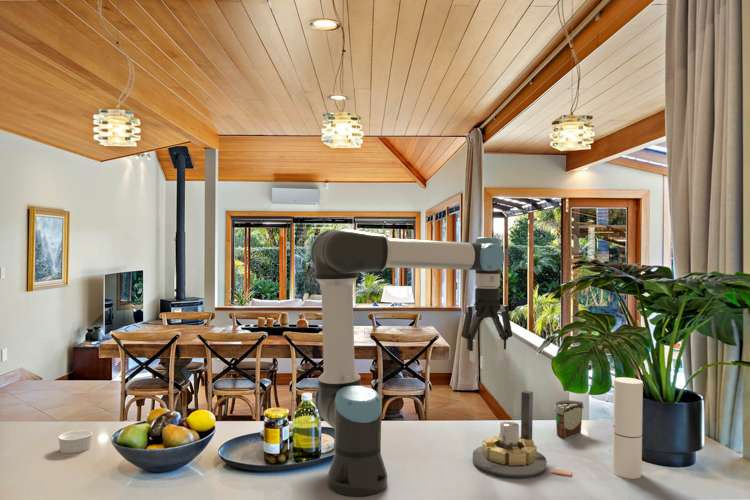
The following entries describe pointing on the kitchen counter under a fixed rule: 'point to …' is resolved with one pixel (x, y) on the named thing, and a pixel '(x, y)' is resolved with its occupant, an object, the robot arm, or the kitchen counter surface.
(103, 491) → the kitchen counter surface
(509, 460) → the geared hub with post
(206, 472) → the kitchen counter surface
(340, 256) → the robot arm
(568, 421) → the food container
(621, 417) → the cylindrical container
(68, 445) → the ramekin
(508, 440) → the flange
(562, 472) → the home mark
